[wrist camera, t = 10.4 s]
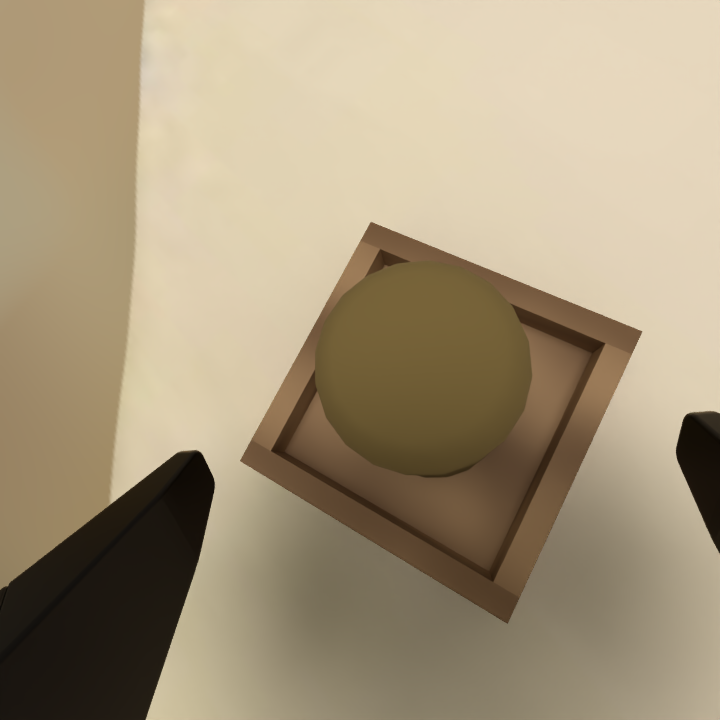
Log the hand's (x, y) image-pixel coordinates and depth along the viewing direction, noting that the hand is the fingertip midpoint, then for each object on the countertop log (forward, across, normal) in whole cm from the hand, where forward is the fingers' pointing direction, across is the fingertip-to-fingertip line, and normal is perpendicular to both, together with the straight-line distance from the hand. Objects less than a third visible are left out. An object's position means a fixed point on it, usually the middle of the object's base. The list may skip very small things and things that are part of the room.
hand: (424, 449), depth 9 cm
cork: (+10, 0, +7) cm, 12 cm away
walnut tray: (+10, 0, +7) cm, 13 cm away
